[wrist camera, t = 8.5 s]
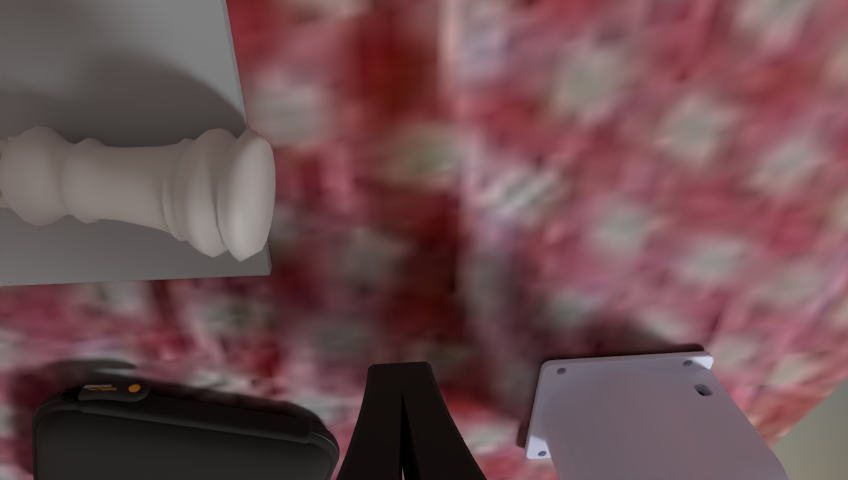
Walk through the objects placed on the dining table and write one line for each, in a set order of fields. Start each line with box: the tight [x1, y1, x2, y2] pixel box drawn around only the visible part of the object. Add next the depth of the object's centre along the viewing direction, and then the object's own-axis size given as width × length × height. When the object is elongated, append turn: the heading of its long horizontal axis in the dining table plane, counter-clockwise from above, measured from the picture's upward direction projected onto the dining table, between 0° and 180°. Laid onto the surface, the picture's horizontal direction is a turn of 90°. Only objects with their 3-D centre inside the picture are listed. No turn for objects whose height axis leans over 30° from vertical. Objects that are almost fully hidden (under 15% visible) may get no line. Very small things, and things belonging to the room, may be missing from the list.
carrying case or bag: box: [32, 382, 339, 480], centre depth 27 cm, size 11×3×15 cm
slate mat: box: [0, 0, 272, 286], centre depth 18 cm, size 14×11×1 cm
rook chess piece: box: [0, 126, 276, 262], centre depth 17 cm, size 4×4×8 cm
